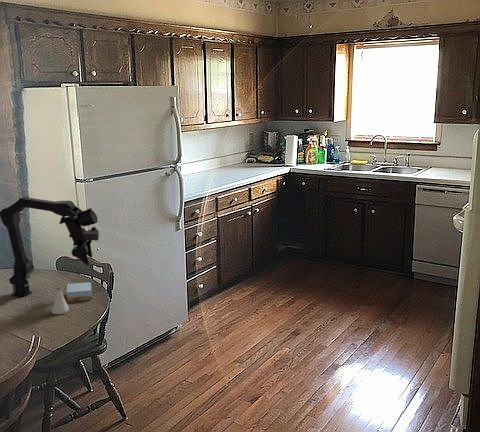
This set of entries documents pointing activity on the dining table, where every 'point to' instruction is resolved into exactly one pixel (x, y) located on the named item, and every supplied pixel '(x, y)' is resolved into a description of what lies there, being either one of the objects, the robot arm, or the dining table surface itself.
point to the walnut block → (78, 298)
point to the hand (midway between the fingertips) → (89, 261)
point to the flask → (59, 303)
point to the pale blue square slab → (78, 290)
